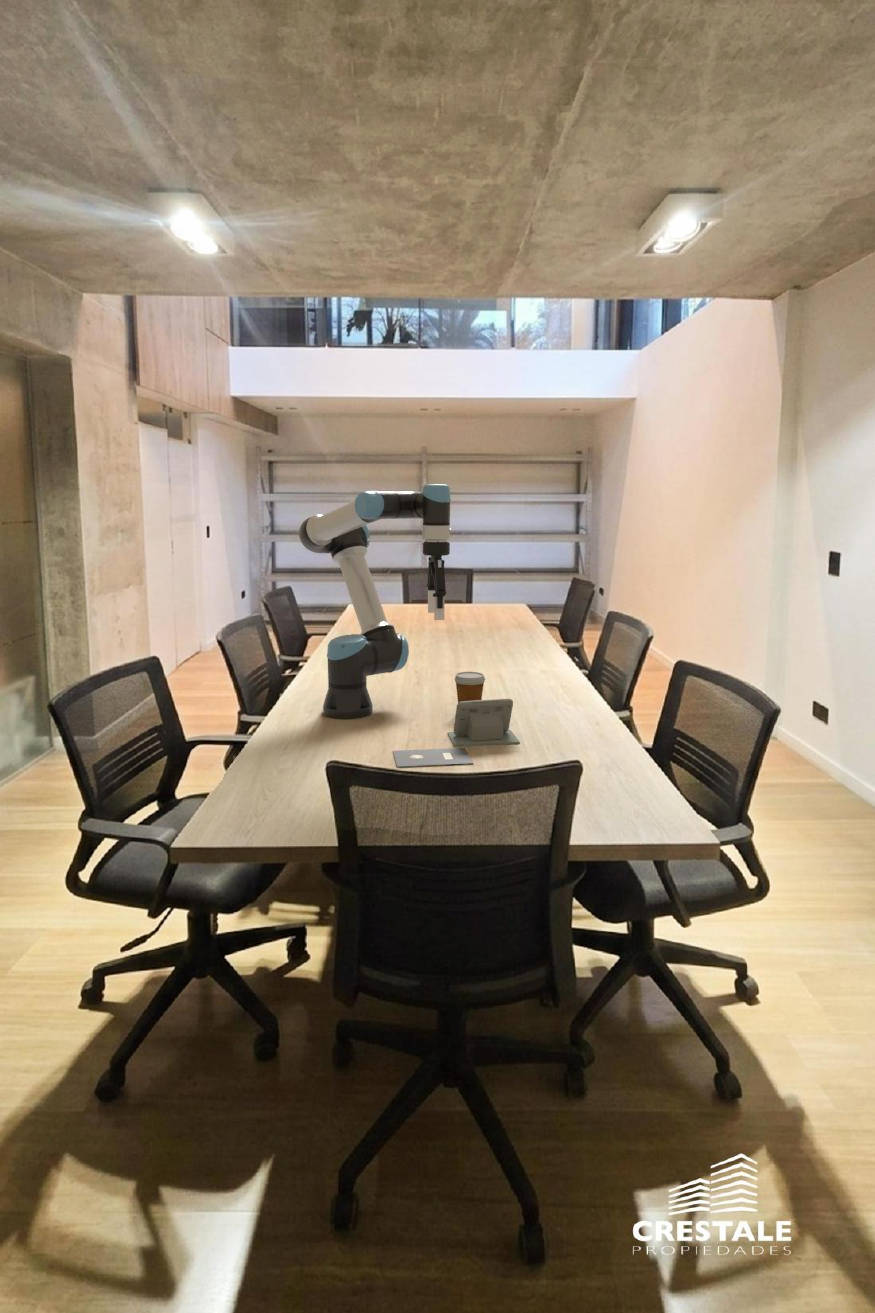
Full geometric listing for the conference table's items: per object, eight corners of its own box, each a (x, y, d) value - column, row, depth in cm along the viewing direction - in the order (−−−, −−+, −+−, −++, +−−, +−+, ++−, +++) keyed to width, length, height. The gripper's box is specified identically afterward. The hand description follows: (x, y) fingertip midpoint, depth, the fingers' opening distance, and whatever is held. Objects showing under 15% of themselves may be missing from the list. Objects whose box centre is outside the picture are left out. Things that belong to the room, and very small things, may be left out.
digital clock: (509, 731, 216) (510, 694, 214) (514, 741, 207) (515, 703, 205) (452, 731, 215) (452, 695, 213) (454, 742, 207) (455, 703, 204)
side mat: (453, 746, 205) (453, 744, 204) (447, 733, 215) (447, 732, 215) (519, 743, 207) (519, 741, 207) (510, 731, 218) (510, 729, 218)
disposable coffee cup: (482, 717, 231) (483, 679, 229) (451, 716, 233) (451, 677, 230) (486, 709, 240) (487, 672, 238) (456, 707, 242) (457, 670, 240)
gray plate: (397, 767, 188) (397, 766, 188) (392, 751, 200) (392, 750, 200) (473, 764, 191) (473, 763, 191) (464, 748, 202) (464, 747, 202)
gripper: (457, 543, 203) (456, 622, 207) (442, 538, 227) (442, 609, 231) (428, 543, 202) (428, 623, 206) (417, 538, 226) (417, 610, 230)
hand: (435, 616), depth 219 cm, fingers open, 13 cm apart
